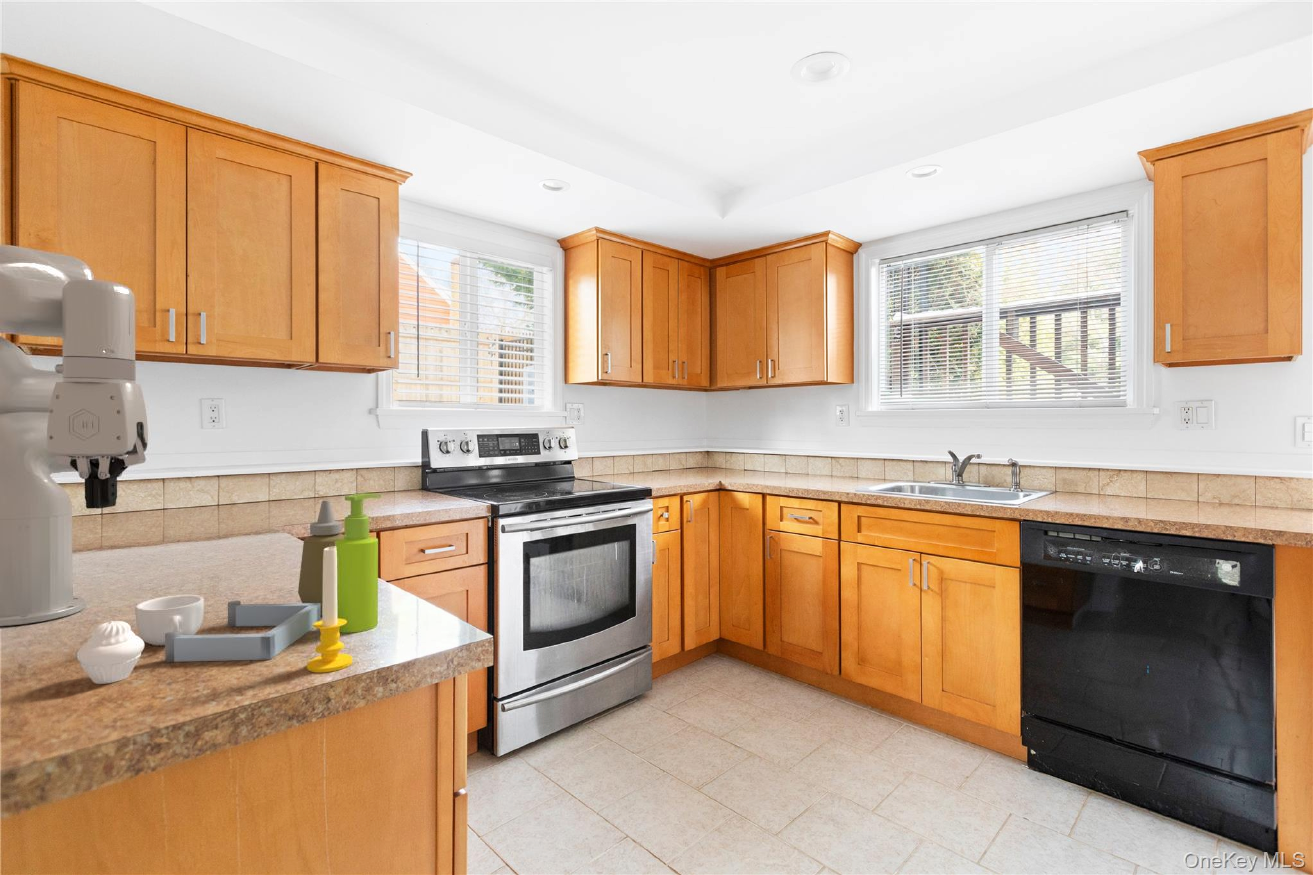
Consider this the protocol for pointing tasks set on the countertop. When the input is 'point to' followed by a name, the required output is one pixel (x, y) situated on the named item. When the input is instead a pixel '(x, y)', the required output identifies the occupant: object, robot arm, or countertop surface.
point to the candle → (329, 621)
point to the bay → (288, 629)
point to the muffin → (110, 652)
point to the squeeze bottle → (317, 554)
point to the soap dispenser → (357, 570)
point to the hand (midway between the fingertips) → (101, 506)
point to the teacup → (169, 617)
